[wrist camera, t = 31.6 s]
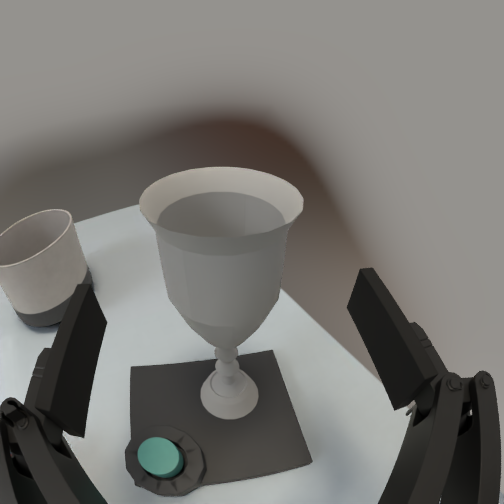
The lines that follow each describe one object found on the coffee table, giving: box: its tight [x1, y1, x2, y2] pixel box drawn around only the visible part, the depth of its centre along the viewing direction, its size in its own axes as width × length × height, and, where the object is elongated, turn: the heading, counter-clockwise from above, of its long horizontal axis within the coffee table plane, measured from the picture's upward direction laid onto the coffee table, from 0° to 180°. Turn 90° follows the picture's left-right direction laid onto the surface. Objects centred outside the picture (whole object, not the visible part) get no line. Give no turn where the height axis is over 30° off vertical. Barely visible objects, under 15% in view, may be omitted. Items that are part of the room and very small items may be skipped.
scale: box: [125, 350, 312, 496], centre depth 19 cm, size 14×13×3 cm
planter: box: [0, 209, 92, 327], centre depth 28 cm, size 13×13×10 cm
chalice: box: [139, 167, 303, 419], centre depth 17 cm, size 7×7×18 cm
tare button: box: [138, 437, 184, 478], centre depth 14 cm, size 3×3×2 cm
